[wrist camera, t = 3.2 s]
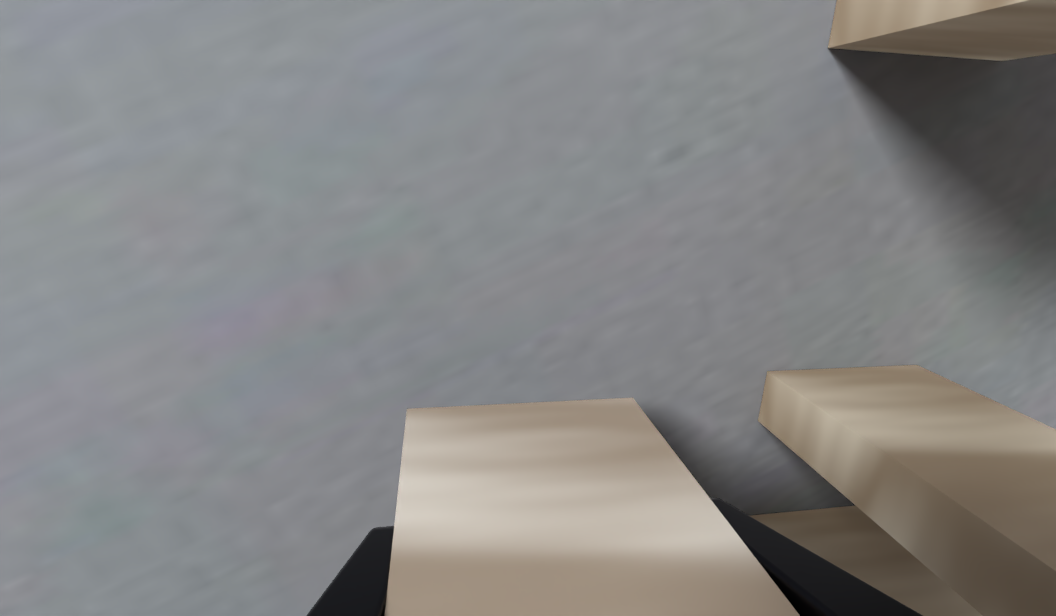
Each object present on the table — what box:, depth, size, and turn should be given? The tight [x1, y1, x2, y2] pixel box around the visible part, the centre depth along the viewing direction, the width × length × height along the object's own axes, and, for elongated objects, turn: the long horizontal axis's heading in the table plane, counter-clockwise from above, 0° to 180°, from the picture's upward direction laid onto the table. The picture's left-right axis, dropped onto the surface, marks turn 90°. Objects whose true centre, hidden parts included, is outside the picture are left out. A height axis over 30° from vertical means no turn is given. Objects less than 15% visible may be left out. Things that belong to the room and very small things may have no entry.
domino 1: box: [385, 398, 800, 616], centre depth 7 cm, size 2×5×9 cm, turn 88°
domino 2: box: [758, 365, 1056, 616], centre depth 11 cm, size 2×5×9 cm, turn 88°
